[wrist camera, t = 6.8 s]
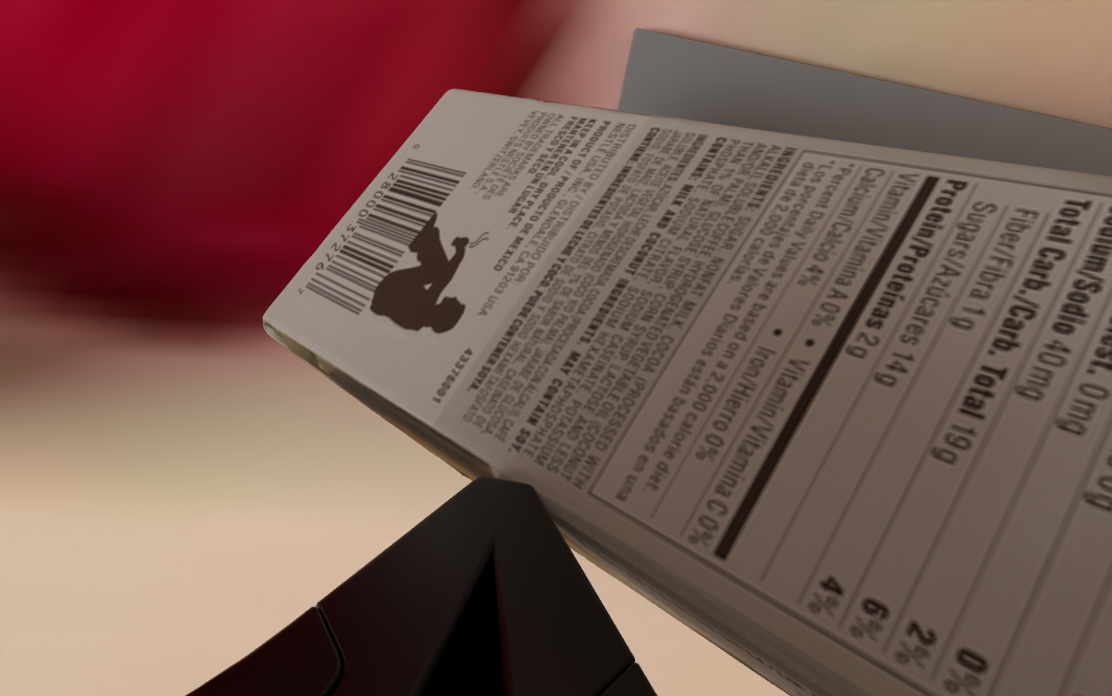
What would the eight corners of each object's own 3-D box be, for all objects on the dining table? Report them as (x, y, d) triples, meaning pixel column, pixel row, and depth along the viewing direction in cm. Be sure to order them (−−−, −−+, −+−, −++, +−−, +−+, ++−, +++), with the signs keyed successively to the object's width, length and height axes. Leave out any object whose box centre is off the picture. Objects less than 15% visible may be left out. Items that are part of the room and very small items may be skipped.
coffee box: (611, 314, 21) (1401, 606, 11) (490, 497, 19) (1277, 1026, 9) (449, 69, 14) (2189, 264, 4) (240, 325, 12) (2181, 1610, 3)
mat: (534, 506, 24) (533, 516, 23) (634, 30, 19) (637, 27, 18) (1006, 585, 25) (1016, 596, 24) (1220, 154, 20) (1240, 156, 19)
